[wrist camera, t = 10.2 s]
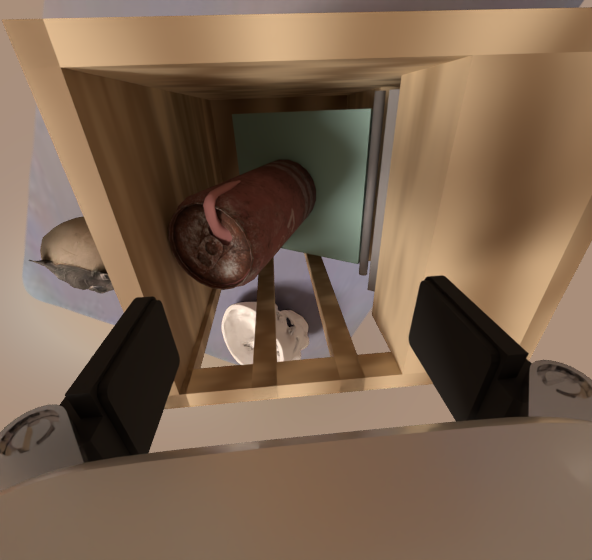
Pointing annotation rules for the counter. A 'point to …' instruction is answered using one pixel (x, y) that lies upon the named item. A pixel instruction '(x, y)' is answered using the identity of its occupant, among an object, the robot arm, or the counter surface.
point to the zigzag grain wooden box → (402, 178)
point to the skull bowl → (242, 333)
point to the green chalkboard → (330, 173)
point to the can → (240, 223)
